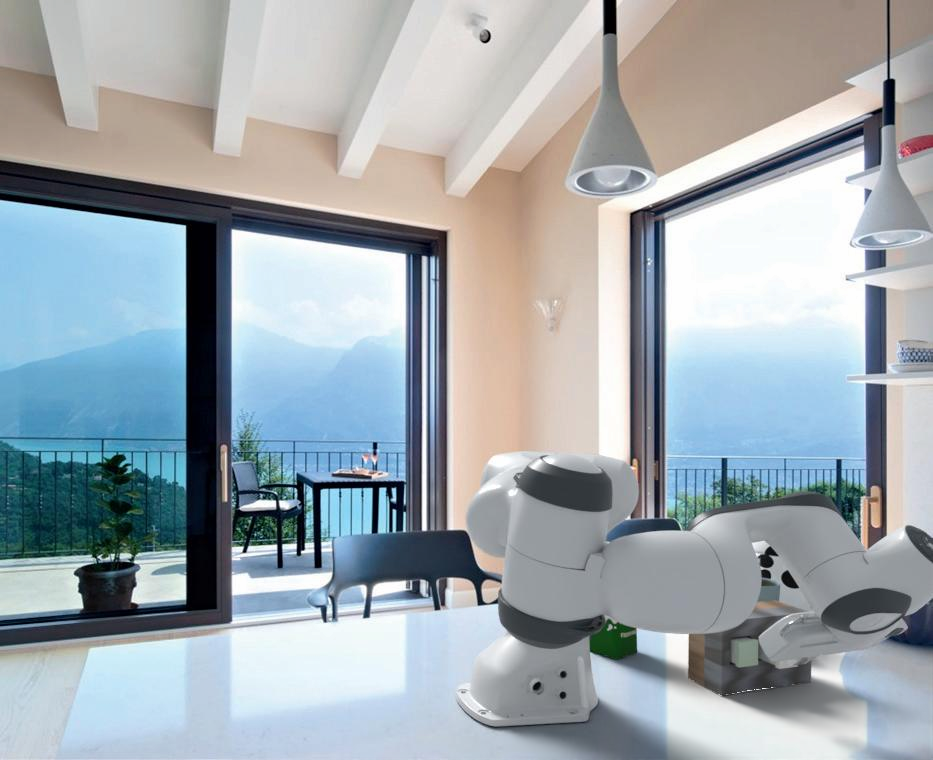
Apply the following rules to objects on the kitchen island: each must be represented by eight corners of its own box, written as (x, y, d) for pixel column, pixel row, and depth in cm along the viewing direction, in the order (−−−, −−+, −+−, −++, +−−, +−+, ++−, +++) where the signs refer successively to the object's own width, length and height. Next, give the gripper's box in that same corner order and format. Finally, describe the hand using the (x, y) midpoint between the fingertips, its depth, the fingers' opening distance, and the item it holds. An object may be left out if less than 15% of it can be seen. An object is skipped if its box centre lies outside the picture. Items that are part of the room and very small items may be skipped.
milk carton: (619, 662, 124) (620, 553, 125) (578, 649, 131) (581, 545, 132) (644, 652, 130) (645, 547, 131) (604, 640, 137) (606, 540, 138)
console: (721, 696, 110) (722, 621, 111) (688, 678, 117) (688, 608, 118) (811, 682, 117) (811, 612, 118) (774, 666, 125) (774, 600, 126)
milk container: (826, 611, 164) (826, 537, 165) (811, 627, 150) (811, 546, 151) (751, 598, 174) (752, 528, 176) (731, 612, 161) (731, 536, 162)
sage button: (739, 667, 109) (739, 642, 110) (718, 657, 114) (718, 633, 114) (758, 664, 111) (758, 640, 111) (736, 655, 115) (736, 631, 116)
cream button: (779, 669, 109) (779, 643, 110) (756, 658, 114) (756, 634, 114) (797, 666, 111) (797, 641, 111) (774, 656, 115) (774, 632, 115)
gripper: (810, 640, 88) (752, 688, 96) (916, 627, 95) (854, 673, 104) (782, 597, 92) (729, 646, 101) (886, 588, 100) (829, 635, 108)
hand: (793, 660), depth 102 cm, fingers closed
